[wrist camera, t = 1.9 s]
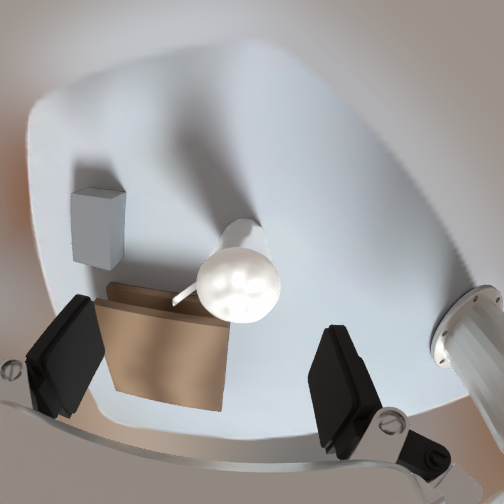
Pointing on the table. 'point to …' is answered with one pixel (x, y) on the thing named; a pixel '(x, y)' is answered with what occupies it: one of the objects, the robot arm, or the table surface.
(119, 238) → the block
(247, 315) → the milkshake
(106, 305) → the stand
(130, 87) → the table surface
